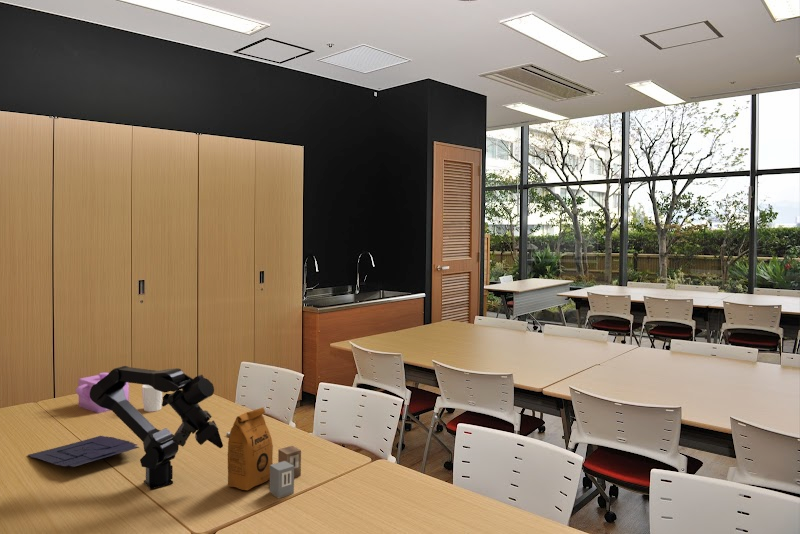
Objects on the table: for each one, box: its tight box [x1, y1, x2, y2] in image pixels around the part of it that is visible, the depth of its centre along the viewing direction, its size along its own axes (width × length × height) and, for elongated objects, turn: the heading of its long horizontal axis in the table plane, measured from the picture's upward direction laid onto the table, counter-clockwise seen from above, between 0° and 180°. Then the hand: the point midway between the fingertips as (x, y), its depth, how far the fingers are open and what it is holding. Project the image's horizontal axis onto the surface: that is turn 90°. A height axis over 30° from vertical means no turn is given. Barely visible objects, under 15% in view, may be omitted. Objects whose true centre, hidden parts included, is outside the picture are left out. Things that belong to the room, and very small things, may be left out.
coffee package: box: [227, 407, 274, 491], centre depth 173 cm, size 10×12×22 cm
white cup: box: [141, 384, 164, 413], centre depth 241 cm, size 8×8×10 cm
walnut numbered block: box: [277, 445, 302, 479], centre depth 180 cm, size 5×5×8 cm
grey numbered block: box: [269, 461, 295, 499], centre depth 168 cm, size 5×5×8 cm
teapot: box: [75, 372, 130, 414], centre depth 245 cm, size 15×25×14 cm, turn 146°
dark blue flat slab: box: [27, 435, 140, 468], centre depth 191 cm, size 24×30×4 cm
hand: (221, 447), depth 173 cm, fingers closed
